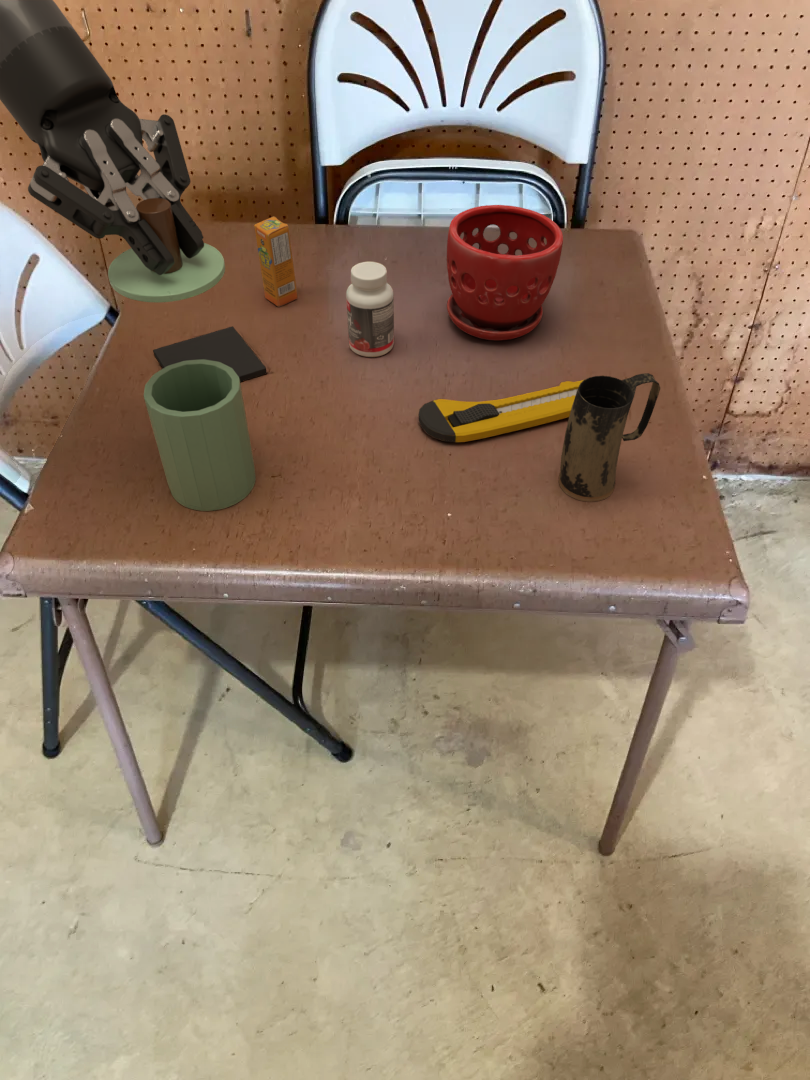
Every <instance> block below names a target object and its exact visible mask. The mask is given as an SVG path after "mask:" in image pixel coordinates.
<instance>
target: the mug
mask: <svg viewBox="0 0 810 1080" xmlns="http://www.w3.org/2000/svg"><path fill="white" fill-rule="evenodd" d="M583 380H584V381H582V382H581V383H580V385H579V387H578V390H577V393H576V396H575V399H574V402H573V405H572V408H571V412H570V416H569V417H568V421H567V425H566V428H565V432H564V438H563V444H562V450H561V455H560V464H559V465H560V466H559V468H560V469H559V476H558V484H559V487H560V489H561V491H562V492H563V493H565V494H566V495H568V496H569V497H571V498H572V499H575V500H578V501H581V502H588V503H589V502H590V503H593V502H600V501H603V500H605V499H607V498H609V497H610V496H611V495H612V494H613V493H614V490H615V487H616V477H617V467H618V462H619V461H618V460H619V457H620V456H619V455H620V449H621V444H622V441H623V442H627V441H628V442H629V441H635V440H637V439H639V438H640V437H642V436H643V434H644V432H645V430H646V429H647V427H648V426H649V425H648V424H649V423H650V420H651V417H652V416H653V412H654V410H655V406H656V404H657V401H658V397H659V394H660V391H661V386H660V383H659V382H658V381H657V380H656V379H655V376H654V375H653V374H652V373H650V372H646V373H645V372H644V373H639V374H635V375H633V376H631V377H627V378H624V379H619V378H618V377H615V376H609V375H603V376H602V375H594V376H589V377H587V378H585V379H583ZM649 383H652V384H651V387H650V390H649V394H648V397H647V400H646V404H645V407H644V410H643V413H642V416H641V418H640V421H639V422H638V424H637V426H636V429H635V430H634V431H632V432H631V433H625V432H624V431H625V428H626V423H627V420H628V416H629V413H630V411H631V407H632V404H633V401H634V398H635V395H636V390H637V387H639V386H641V385H643V384H649Z"/></svg>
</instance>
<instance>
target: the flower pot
mask: <svg viewBox="0 0 810 1080" xmlns="http://www.w3.org/2000/svg"><path fill="white" fill-rule="evenodd" d="M489 226H496V227H497V228H498V229H499V231H500V232H499V236H498V237H497V238H495V239H493V240H487V239H486V238H485V236H484V233H485V230H486V229H487V227H489ZM475 229H477V230H478V231H477V233H476V234H473V232H474V230H475ZM511 233H515V234H516V238H511V237H510V236H511V235H510V234H511ZM462 234H463V237H462V238H461V236H462ZM530 239H533V240H534V241H535V242H536V245H535V247H532V246H531V244H530V243H529V242H530V241H529V240H530ZM545 240H546V241H545ZM446 241H447V242H446V269H447V275H448V276H447V279H448V284H449V288H450V291H451V295H450V296H449V297H448V300H447V303H446V310H447V313H448V317H449V318H450V320H451V321H452V322H453V324H454V325H455V326H456V327H457V328H458V329H460V330H461V331H463V332H464V333H466V334H468V335H470V336H473V337H475V338H479V339H482V340H486V341H487V340H488V341H507V340H508V341H509V340H513V339H517V338H520V337H523V336H525V335H527V334H528V333H530V332H531V331H534V329H536V327H537V326H538V325H539V324H540V322H541V320H542V318H543V313H544V312H543V310H544V309H543V304H544V302H545V301H546V299H547V298H548V296H549V293H550V291H551V289H552V286H553V285H554V284H553V283H554V281H555V279H556V276H557V272H558V268H559V266H560V261H561V257H562V251H563V244H564V234H563V231H562V229H561V227H560V226H559V225H558V224H557V223H556V222H555V221H554V220H552V219H551V218H550V217H548V216H546V215H544V214H543V213H541V212H539V211H535V210H532V209H528V208H525V207H521V206H515V205H507V204H506V205H505V204H488V205H487V204H486V205H479V206H475V207H471V208H468V209H466V210H463V211H462V212H459V213H458V214H456V215H455V216H454V217H453V218H452V220H451V221H450V223H449V227H448V232H447V240H446ZM545 242H546V243H545ZM475 244H478V248H477V247H475V246H474V245H475ZM500 245H505V246H507V252H505V253H501V252H500V251H499V246H500ZM517 251H521V254H520V255H519V254H518V255H516V252H517Z"/></svg>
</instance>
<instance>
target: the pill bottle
mask: <svg viewBox="0 0 810 1080" xmlns="http://www.w3.org/2000/svg"><path fill="white" fill-rule="evenodd" d="M350 282H351V283H350V284H349V286H348V287H347V289H346V292H345V297H346V298H345V301H346V317H347V336H348V337H347V338H348V346H349V348H350V350H351V351H352V352H353V353H355V354H356V355H358V356H361V357H367V358H375V357H380V356H383V355H385V354H388V353H389V352H390V351H392V349H393V347H394V344H395V297H394V296H395V295H394V290H393V287H392V285H390V284H389V283H388V272H387V268H386V266H385V265H383V263H380V262H376V261H361V262H358V263H356V264H355V265H354V266H352V267H351V269H350Z"/></svg>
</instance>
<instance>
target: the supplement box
mask: <svg viewBox="0 0 810 1080" xmlns="http://www.w3.org/2000/svg"><path fill="white" fill-rule="evenodd" d="M253 226H254V233H255V240H256V246H257V254H258V259H259V260H258V261H259V267H260V273H261V278H262V280H261V281H262V286H263V292H264V298H265V299H266V300H268V301H269V302H271V303H272V304H274V305H275V306H277V307H278V308H280V307H283V306H284V305H287V304H289V303H291V302H293V301H295V300H297V299H298V298H299V295H298V288H297V281H296V273H295V267H294V259H293V251H292V244H291V237H290V236H291V235H290V228H289V225H288V224H287V223H286V222H285V223H284V222H282V221H281V220H279V219H278V218H277V217H276V216H272V217H269V218H266V219H264V220H262V221H260V222H257V223H255V224H254V225H253Z"/></svg>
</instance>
